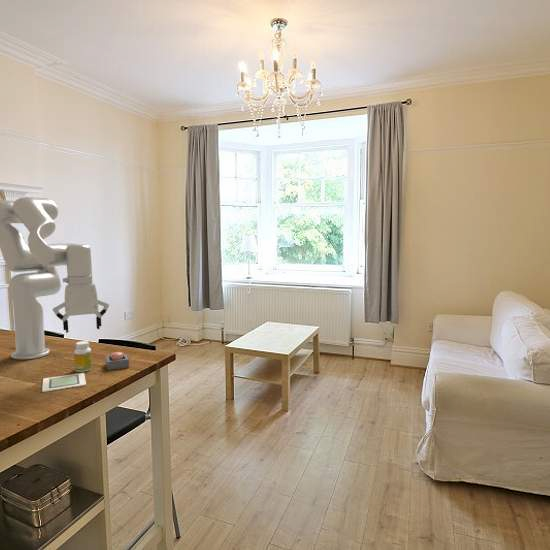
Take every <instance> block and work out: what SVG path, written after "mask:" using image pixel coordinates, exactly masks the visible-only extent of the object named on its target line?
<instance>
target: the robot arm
mask: <svg viewBox="0 0 550 550" xmlns="http://www.w3.org/2000/svg"><path fill="white" fill-rule="evenodd" d="M58 215H59V208H58V206H57V204H56V203H55V202H54V201H53V200H51V199H49V198H43V197H33V196H32V197H31V196H29V197H28V196H25V197H20V198H17V199H16V200H4V199H3V200H0V252H1V254H2V257H3V261H4V264H5V266H6V268H7V269H8V270H9V271H10V272H13V273H18V274H16V275H14V276H12V277H11V278H10V279H9V281H8V290H9V294H10V297H11V301H12V308H13V323H14V324H13V325H14V337H15V339H14V340H15V341H14V342H15V351H13V352H12V353H11V356H10V357H11V358H12V359H14V360H24V361H25V360H33V359H38V358H41V357H45V356H47V355H49V353H50V351H51V350H50V348H49V347H45V346H46V343H45V325H44V324H45V322H44V311H43V310H44V309H43V306H42V304H40V302H39V301H38V300H37V299H36V298H41V297H48V296H53V295H56V294H57V293H59V292H60V289H61V287H62V283H66V284H67V285H65V289H64V302H62V303H60V304H59V305H57V306H55V307H53V308H52V311H53V313H54V315H55V316H56V317H57V318H58V319H60V321H62V322H63V323H62V324H63V331H65V333H66V334H68V333H69V321H68V320H69V318H70V316H72V317H73V316H82V315H83V316H84V315H93V314H94V315H96V317H95V321H96V323H95V324H96V329H97V330H100V327H102V317H103V316H104V315H105V314H106V312H107V311H108V309H109V306H110V304H109V303H107V302H104V301H102V300H100V299H98V292H97V288H96V284H95V283H93V272H92V271H93V269H92V267H93V266H92V252H91V251H92V250H91V247H90V245H87V244H76V243H46V242H45V241H44V239H47V238H48V237H50V236H51V235H52V234H53V233H54V232H55V230H56V227H57V226H56V223H55V221H54V220H55V219H57V217H58ZM12 224H23V226H25V228H26V229H27V230H28V231H29V234H28V236H27V237H28V238H27V242H26V241H25V237H24V236H23V233H21V231H20V230H18V229H17V228H16V227H15V226H13V225H12ZM59 266H60V267H62V266H66V274H67V276H66V277H65V278H62V283H61V278H60V276H59V272H58V270H57V267H59ZM19 273H20V274H19ZM99 306H102V307H103V308H102V309H101V310H100V312H99ZM61 309H64V314H62V313H60V310H61Z"/></svg>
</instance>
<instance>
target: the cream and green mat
mask: <svg viewBox="0 0 550 550" xmlns="http://www.w3.org/2000/svg"><path fill="white" fill-rule="evenodd" d="M83 386H84V387H85V386H87V381H86V374H85V372H78V373H73V374H67V375H66V374H65V375H58V376H51V377H44V378H43V379H42V388H41V393H46V392H53V391H58V390H59V391H60V390H65V389H66V388H67V389H71V388H72V387H73V388H79V387H83ZM67 389H66V390H67Z"/></svg>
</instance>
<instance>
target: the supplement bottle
mask: <svg viewBox="0 0 550 550" xmlns="http://www.w3.org/2000/svg"><path fill="white" fill-rule="evenodd" d="M89 346H90V342H89V341H87V340H86V341H85V340H83V341H78V342H76V343H75V347H76V348H75V349H74V352H73V358H74V360H73V361H74V371H75V372H76V373H85V371H86V372H89V371H91V370H92V369H93V364H92V363H93V360H92V349H91V347H89Z"/></svg>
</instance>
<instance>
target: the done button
mask: <svg viewBox="0 0 550 550" xmlns="http://www.w3.org/2000/svg"><path fill="white" fill-rule="evenodd" d="M123 354H124V352H122V351H115V352H112V353H110V356H111V361H113V360H121V359H123Z"/></svg>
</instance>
